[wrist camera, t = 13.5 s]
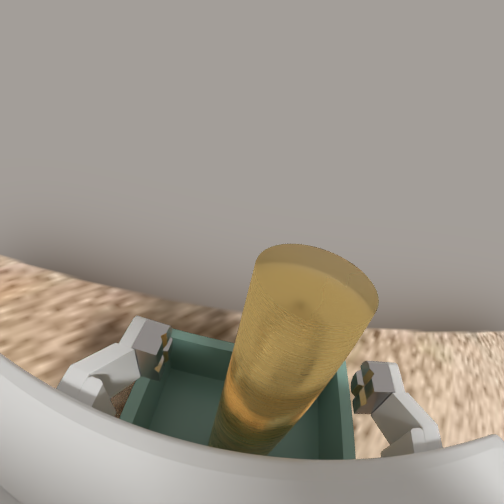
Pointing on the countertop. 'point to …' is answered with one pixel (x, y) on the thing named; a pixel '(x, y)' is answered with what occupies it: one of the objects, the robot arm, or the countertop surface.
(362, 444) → the countertop surface
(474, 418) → the countertop surface
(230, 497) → the robot arm
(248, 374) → the pin
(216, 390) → the tray
